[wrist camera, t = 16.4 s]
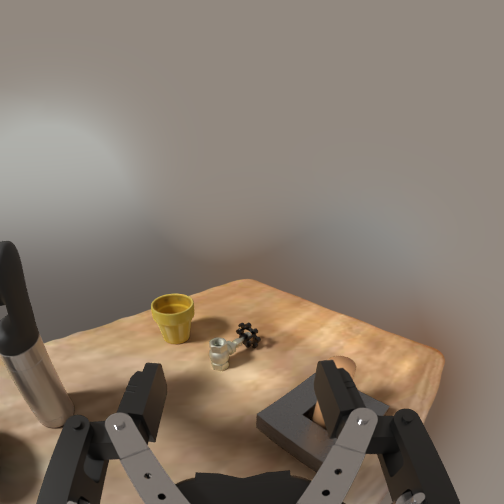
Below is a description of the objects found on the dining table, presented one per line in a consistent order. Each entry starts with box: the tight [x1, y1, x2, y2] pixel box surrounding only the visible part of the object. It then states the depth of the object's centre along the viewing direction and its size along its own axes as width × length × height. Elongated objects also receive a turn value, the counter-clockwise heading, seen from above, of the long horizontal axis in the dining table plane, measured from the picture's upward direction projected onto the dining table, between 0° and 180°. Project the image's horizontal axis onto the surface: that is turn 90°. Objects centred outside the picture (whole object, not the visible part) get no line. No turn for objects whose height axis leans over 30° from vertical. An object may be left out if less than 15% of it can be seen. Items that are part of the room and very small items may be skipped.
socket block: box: [256, 373, 390, 472], centre depth 38 cm, size 16×16×4 cm
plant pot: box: [151, 294, 194, 344], centre depth 63 cm, size 10×10×10 cm
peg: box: [312, 356, 356, 430], centre depth 36 cm, size 4×4×15 cm
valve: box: [209, 323, 261, 371], centre depth 57 cm, size 7×7×12 cm
